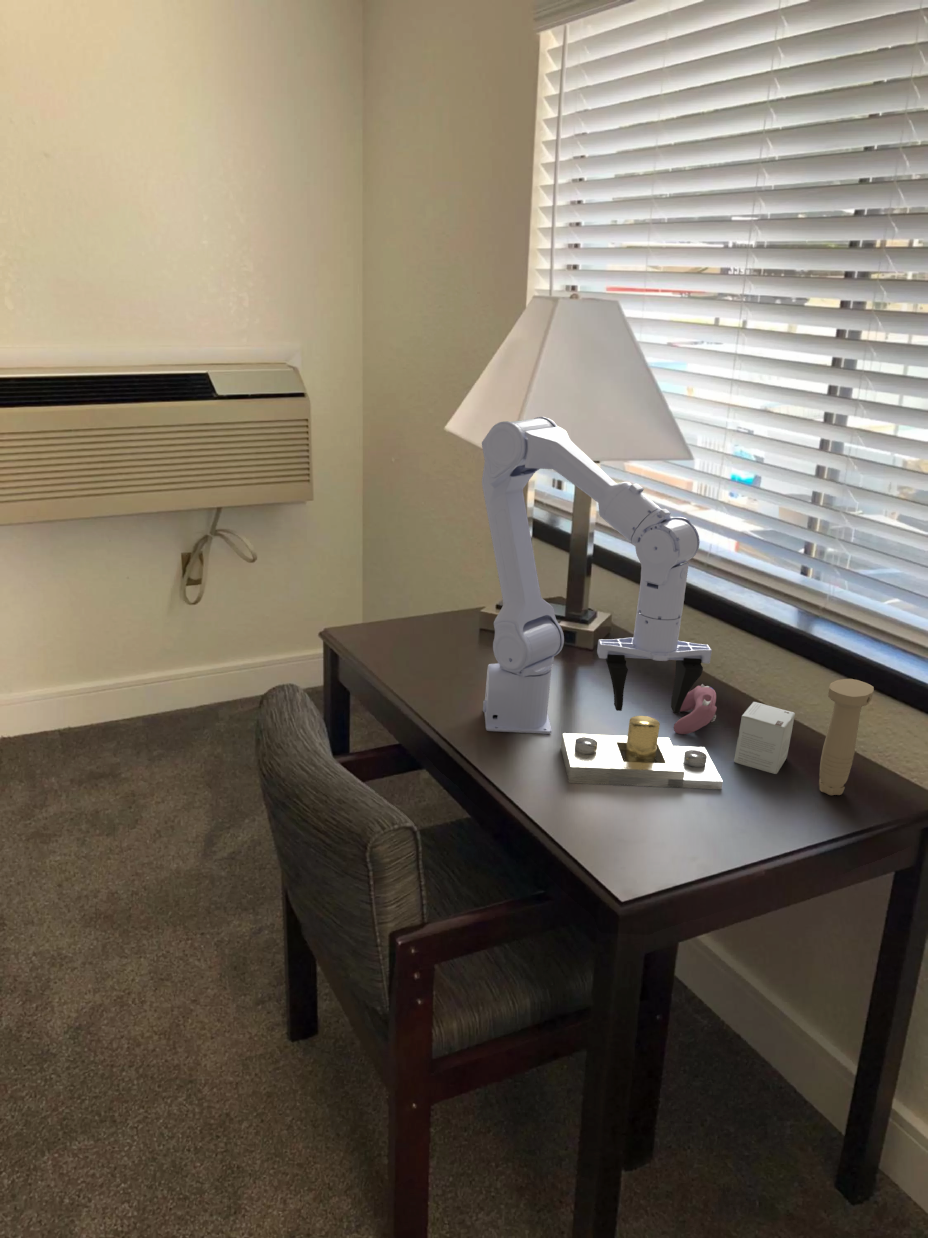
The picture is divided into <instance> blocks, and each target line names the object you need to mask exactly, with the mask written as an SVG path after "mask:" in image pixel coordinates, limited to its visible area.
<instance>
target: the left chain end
mask: <svg viewBox="0 0 928 1238" xmlns="http://www.w3.org/2000/svg"><path fill="white" fill-rule="evenodd" d="M561 734H562V735H561V745H560V750H561V754H562V758H563V759H562V760H563V762H564V763H563V764H564V767H565V772H566V775H567V780H568V783H569V784H582V785H583V784H585V785H586V784H589V785H609V776H610V777H633V778H656V779H679V780H684V774H685V771H684V769H683V767H682V764H681V762H680V760H679V758H678V756H677V754H676V752H675V750H674V747H673V746H674V745H673V744H672V741H671V740H670V739H671V738H670V737H659V736H658V741H657V748H656V752H657V754H658V756H659V758H660V760H661V763H657V762H655V763H640V762H624V760H623V758H622V757H621V754H620V752H619V750H626V745H627V737H628V735H615V734H614V735H611V734H589V733H570V732H569V733H566V732H564V733H561Z"/></svg>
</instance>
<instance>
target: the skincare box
mask: <svg viewBox="0 0 928 1238" xmlns="http://www.w3.org/2000/svg"><path fill="white" fill-rule="evenodd" d="M795 715H796V713H795V712H793V711H790V710H786V709H784V708H783V709H781V708H779V707H775V706H771V705H769V704H764V703H760V702H758V701H752V703H751V704H750V705H749V706H748V707H747V708H746V710H745V711H744V713H742V715H741V720H740V725H739V730H738V736H737V740H736V746H735V752H734V758H733V762H734V763H736V764H739V765H742V766H745V767H749V768H753V769H757V770H760V771H763V772H767V773H770V774H773V775H777V774H778V773H779V771H780V769H781V768H782V766H783V765H784V763H785V761H787V760H786V759H787V758H788V754H789V747H790V744H791V737H792V731H793V727H794V726H793V725H794V720H795Z"/></svg>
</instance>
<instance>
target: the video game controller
mask: <svg viewBox="0 0 928 1238" xmlns="http://www.w3.org/2000/svg"><path fill="white" fill-rule="evenodd" d="M716 702H717V693H716V690H715V689H714V688H713V687H711V686H709V685H706V686H705V685H704V684H703V683H702V684H701V685H697V686H696V687H695V688H693V689H692V690H689V692H688V694H687V696H686V697H685V699H684V702H683V704H682V706H681V709H680V712H687V711H691V710H692V711H691V712H690V713H688V714H686V715H685V716H683V717H680V719H678V720H677V721H675V723H674V724H673V731H674V732H675V733H676V734H679V735H688V734H692V733H694V732H697V731H698V730H700V729H701V728H703V727H705V726H707V725H708V724H710V722H711V723H713V722H714V721H716V718H717V715H716V712H717V706H716Z"/></svg>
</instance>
